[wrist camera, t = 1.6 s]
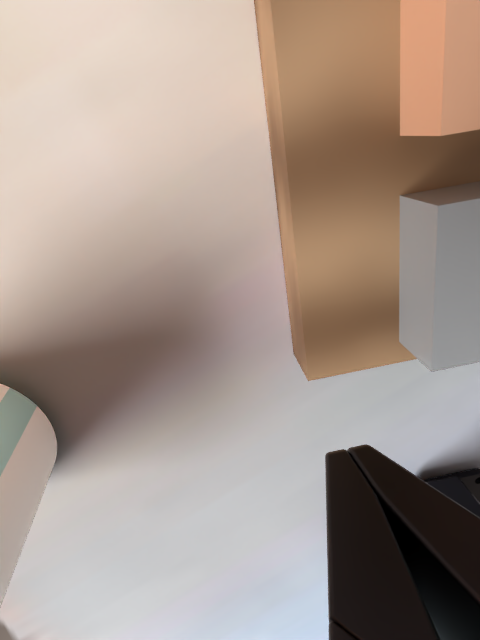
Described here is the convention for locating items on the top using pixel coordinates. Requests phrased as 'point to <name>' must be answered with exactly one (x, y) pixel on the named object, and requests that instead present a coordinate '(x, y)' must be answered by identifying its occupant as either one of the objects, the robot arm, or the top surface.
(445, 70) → the terracotta tile
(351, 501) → the robot arm
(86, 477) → the top surface
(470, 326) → the slate tile
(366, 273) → the walnut board
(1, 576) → the can
